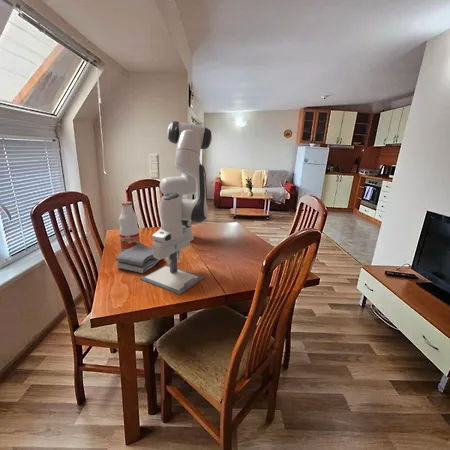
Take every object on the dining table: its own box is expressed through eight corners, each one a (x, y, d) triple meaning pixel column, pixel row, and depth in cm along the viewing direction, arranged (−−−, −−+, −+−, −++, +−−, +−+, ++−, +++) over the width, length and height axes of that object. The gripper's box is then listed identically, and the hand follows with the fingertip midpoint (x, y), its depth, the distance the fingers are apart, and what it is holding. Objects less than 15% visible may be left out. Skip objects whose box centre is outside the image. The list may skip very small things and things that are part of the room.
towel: (115, 270, 114) (113, 254, 112) (140, 255, 131) (138, 241, 129) (144, 275, 110) (142, 259, 108) (165, 259, 127) (164, 245, 125)
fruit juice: (142, 251, 136) (139, 200, 128) (137, 258, 127) (133, 204, 119) (125, 250, 136) (120, 200, 128) (119, 257, 126) (113, 204, 119)
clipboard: (140, 279, 106) (139, 275, 105) (166, 265, 119) (166, 262, 118) (179, 294, 95) (179, 290, 94) (204, 278, 108) (204, 274, 108)
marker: (167, 271, 111) (166, 244, 107) (173, 268, 114) (172, 242, 110) (174, 273, 109) (172, 246, 105) (179, 270, 112) (178, 243, 108)
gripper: (182, 225, 116) (183, 252, 120) (148, 236, 99) (150, 268, 103) (192, 227, 113) (193, 255, 117) (160, 239, 96) (162, 271, 100)
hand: (173, 261), depth 110 cm, fingers closed on marker, 3 cm apart
